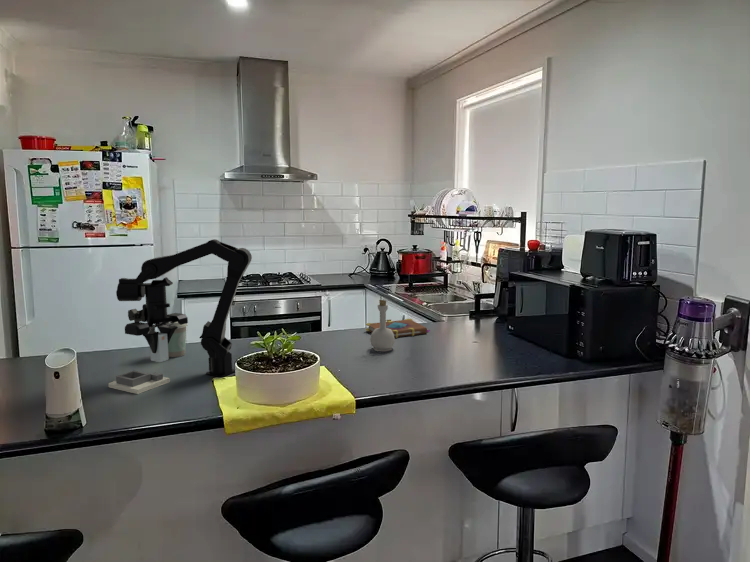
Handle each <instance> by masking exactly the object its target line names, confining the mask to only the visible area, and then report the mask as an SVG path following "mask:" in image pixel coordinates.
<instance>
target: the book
mask: <svg viewBox="0 0 750 562" xmlns="http://www.w3.org/2000/svg"><path fill="white" fill-rule="evenodd" d="M365 325H366V326H367V328H365V331H367V332H369V333H371V334H372V332H373V331H374V330H375V329H377V328H380V322H374V323H373V322H366V323H365ZM386 328H388V329H391V330H392V332H393V334H394V339H395V338H396V339H397V338H401V337H410V336H412V337H413V336H414V337H415V336H419V335H426V334H427V333H430V332H431V330H430V329H428V327H426V326H424V325H422V324H420V323H419V322H416V321H414V320H413V319H412V318H406V319H399V320H398V319H397V320H392V319H386Z"/></svg>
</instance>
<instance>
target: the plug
mask: <svg viewBox="0 0 750 562" xmlns="http://www.w3.org/2000/svg"><path fill="white" fill-rule="evenodd" d="M149 355H150V356H149V357H150V358H149V359H150V361H152V362H157V363H162V362H165V361H168V360H169V359H170V357H168V340H167V334H166V333H160V332H159V333H158V344H157V351H156V353H153V352H152V350H151V348H150V347H149Z"/></svg>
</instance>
